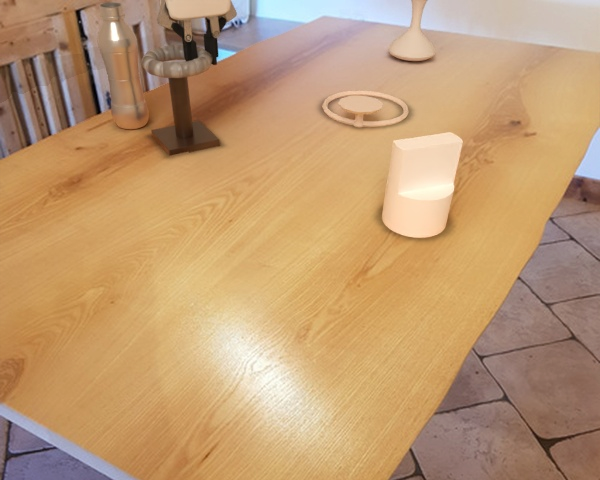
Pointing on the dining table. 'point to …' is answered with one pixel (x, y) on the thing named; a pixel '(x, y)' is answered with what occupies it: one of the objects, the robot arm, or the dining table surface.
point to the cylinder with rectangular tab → (421, 184)
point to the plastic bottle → (122, 68)
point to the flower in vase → (413, 38)
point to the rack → (183, 125)
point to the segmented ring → (158, 66)
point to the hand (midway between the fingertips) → (202, 63)
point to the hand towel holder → (363, 107)
